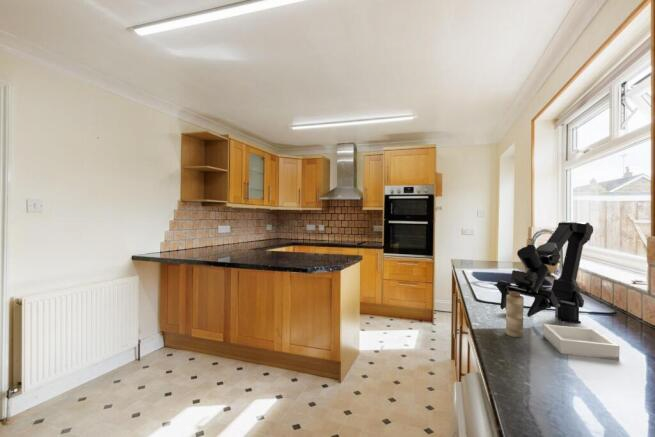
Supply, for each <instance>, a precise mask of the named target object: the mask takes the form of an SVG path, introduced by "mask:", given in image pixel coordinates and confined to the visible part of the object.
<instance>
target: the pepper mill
mask: <svg viewBox="0 0 655 437" xmlns="http://www.w3.org/2000/svg"><path fill="white" fill-rule="evenodd" d="M524 300H525V298H524V297H523V296H522V295H521V294H520V292H516V291H510V295H507V296H506V309H505V310H506V314H505V317H506V318H505V333H506V335H508V336H510V337H514V338H523V337H524V306H525V305H524Z"/></svg>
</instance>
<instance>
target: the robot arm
mask: <svg viewBox="0 0 655 437" xmlns="http://www.w3.org/2000/svg"><path fill="white" fill-rule="evenodd" d="M593 233H594V226H593V225H592V224H591V223H590V222H582V221H581V222H579V221H569V220H568V221H560V222H558V224H557V227H556V229H555V230H554V232H553V233H552V234H551V236H550V237H549V238H548V240H547V241H546V242H545V243H542V244H540V245H538V246H537V247H536V246H535V244H527V246H522V247H521V248H520V249H518V250H517V252H516V255H517V257H518V258H519V260H520V262H521V264H522V265H523V267H524V268H526V269H527V270H526V272H525V271H522V270H521V271H520V270H515V269H514V270H512V271H511V274H510V280H512V281H514V285H515V286H517V287H515V286H513V285H512V284H511V282H510V281H507V280H506V281H505V280H497V282H496V283H495V287H496V288H497V290H498V291H499V293H500V294H501V296H500V306H499V307H500V309H501V310H503V309H505V307H506V296H507V295H510V291H516V292H520V295H521V296H522V295H523V296H525V297H529V298H534V300H533V302H532V304H531V306H530V308H529V309H528V311H527V313H526V316H527V317H528V318H530V317H532V316H534V315H536V314H538V313H539V312H541V311H545V310H546V309H552V308H554V317H555V318H556V319H558V320H559V321H560V322H564V323H576V324H581V323H582V321H580V308H584V304H585V300H584V298H583V296H582V294H581V292H580V291H581V290H580V289H581V288H580V286H579V284H578V281H577V277H578V272H579V267H580V262H581V259H582V253H583V248H584V245H585V244H587V243H588V242H589V241H590V240H591V237H592V234H593ZM566 242H567V245H566V251H565V255H564V260H563V263H562V268H561V269H562V270H561V274H560V277H558V279H556V278H555V279H554V280H553V282H552V286H551V289H550V290H549V289H545V288H543V287H544V285H543V282H544V281H545V279H546V277H550V276H551V272H550V270H549V267H548V266H550V267H555V266H556V265H558V264H559V262H560V259H561V253H560V251H561V250H562V248H563V247H564V245H565V244H566Z"/></svg>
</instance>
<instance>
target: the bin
mask: <svg viewBox="0 0 655 437" xmlns="http://www.w3.org/2000/svg"><path fill="white" fill-rule="evenodd" d="M543 338H545V339H546V340H547V341H548V342H549V343H550V344H551V345H552V346H553V347H554V349H555V350H557V351H558V352H559V353H560V354H564V355H571V354H572V355H573V356H579V357H588V358H589V357H590V358H598V359H606V360H613V361H620V345H619V344H617V343H616V342H614V341H613V340H611V339H610V338H608V337H607V336H605V335H604V334H602V333H600V332H599V331H598V330H596V329H595V328H589V327H588V328H586V327H577V326H565V325H557V324H547V323H543ZM572 355H571V356H572Z"/></svg>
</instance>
